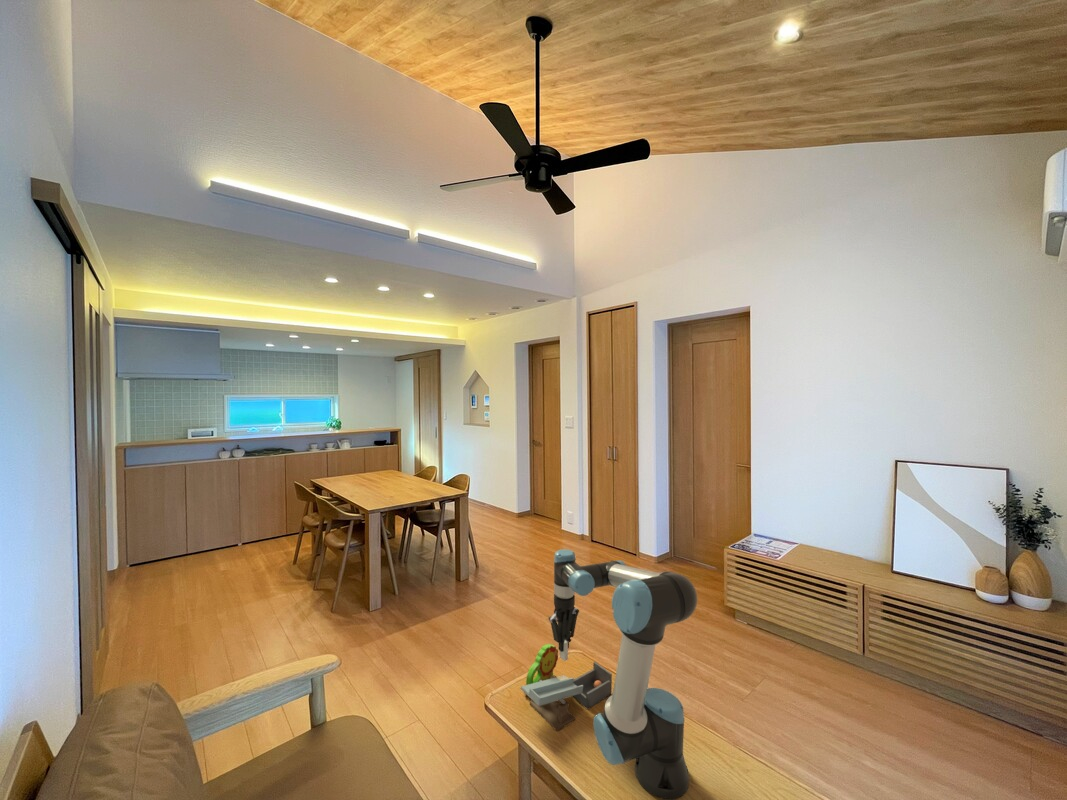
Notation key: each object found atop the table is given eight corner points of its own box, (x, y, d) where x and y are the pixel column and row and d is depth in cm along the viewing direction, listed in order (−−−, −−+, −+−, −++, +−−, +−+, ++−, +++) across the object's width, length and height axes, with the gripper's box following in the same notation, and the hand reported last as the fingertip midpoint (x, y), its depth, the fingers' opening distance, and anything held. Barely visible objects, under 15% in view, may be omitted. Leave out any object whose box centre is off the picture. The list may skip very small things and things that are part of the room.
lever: (584, 697, 151) (586, 688, 152) (541, 711, 139) (542, 701, 140) (560, 677, 162) (561, 668, 162) (517, 688, 150) (519, 679, 150)
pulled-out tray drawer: (611, 694, 160) (611, 673, 159) (587, 709, 152) (587, 687, 152) (594, 682, 167) (594, 661, 166) (571, 695, 159) (571, 674, 159)
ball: (604, 688, 161) (603, 681, 161) (598, 694, 160) (597, 686, 159) (598, 684, 164) (597, 676, 163) (592, 689, 162) (591, 682, 162)
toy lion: (533, 702, 155) (533, 661, 155) (522, 695, 159) (522, 654, 159) (561, 680, 167) (561, 642, 167) (550, 674, 171) (551, 636, 170)
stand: (575, 720, 147) (575, 701, 147) (557, 731, 143) (557, 712, 142) (547, 695, 159) (547, 677, 159) (529, 704, 154) (529, 686, 154)
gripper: (570, 585, 163) (570, 647, 164) (543, 595, 156) (543, 659, 156) (584, 593, 157) (584, 657, 158) (557, 603, 150) (556, 670, 150)
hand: (563, 658), depth 157 cm, fingers closed
